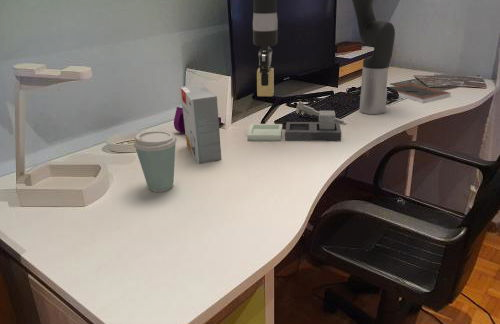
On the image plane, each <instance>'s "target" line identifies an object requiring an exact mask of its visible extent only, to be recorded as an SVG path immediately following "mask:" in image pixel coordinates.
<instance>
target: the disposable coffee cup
mask: <svg viewBox="0 0 500 324" xmlns="http://www.w3.org/2000/svg"><path fill="white" fill-rule="evenodd" d="M176 144H177V137H176V135H174V134H173V133H172V132H170V131H166V130H162V129H161V130H160V129H159V130H158V129H157V130H155V129H154V130H146V131H142V132H139V133H137V134H136V135H135V137H134V141H133V147H134V149H135V151H136V154H137V156H138V157H137V158H138V160H139V164H140V166H141V167H140V168H141V170H142V173H143V175H144V179H145V182H146V185H147V187H148V188H149V190H150V191H151V192H154V193H164V192H166V191H169V190H170V189H172V188H173V185H174V181H175V180H174V179H175V160H176V158H175V157H176Z"/></svg>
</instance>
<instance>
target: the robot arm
mask: <svg viewBox="0 0 500 324" xmlns="http://www.w3.org/2000/svg"><path fill="white" fill-rule="evenodd" d="M351 2H352V6H353V9H354V12H355V17H356V22H357V28H358V33H359V38H360V41H361V42H362V44H363V45H364V46H366V47H370V48H373V52H372V55H370V56H367V57H365V58H364V59H363V60H362V61H363V62H362V72H361V73H362V74H361V86H360V99H359V112H361V113H362V114H366V115H367V114H368V115H379V114H385V113H386V107H387V98H388V93H387V90H388V89H387V87H388V76H389V75H388V74H389V66H390V61H391V59H392V56H393V51H394V44H395V37H396V36H395V35H396V32H395V26H394V25H393V23H392V22H390V21H382V20H377V19H376V16H375V14H374V9H373V2H374V0H352V1H351ZM252 5H253V7H252V8H253V13H252V14H253V16H252V43H253V45H255V46H257V47H258V46H260V49H259V50H258V58H259V59H258V61H259V63H258V66H259V68H260V73H261V85H262V86H268V74H269V68H271V65H272V55H273V49H272V48H271V46H276V45H277V44H278V13H277V12H278V0H253V4H252ZM262 68H266V69H262Z"/></svg>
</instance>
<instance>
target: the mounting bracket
mask: <svg viewBox="0 0 500 324" xmlns="http://www.w3.org/2000/svg"><path fill="white" fill-rule="evenodd" d="M221 118H222V117H219V116H218V119H219V125H220V124H221ZM173 127H174V129H175V130H176V132H179V133H181V134H185V125H184V116H183V107H180V106H176V110H175V114H174V118H173Z"/></svg>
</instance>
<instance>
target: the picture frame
mask: <svg viewBox="0 0 500 324" xmlns="http://www.w3.org/2000/svg"><path fill="white" fill-rule="evenodd" d="M388 87H389V88H393V89H395V90H396V91H397V92H398V94H399V96H398V97H400V96H401V97H400V98H403V97H404V99H406V100H410V101H413V102H417V103H419V104H426V103H429V102H433V101H438V100H442V99H446V98H451V96H452V95H451V94H452V92H450V91H449V92H448V91H445V90H441V89H437V88H432V87H428V86H424V85H420V84H417V83H413V82H409V83H404V84H398V85H393V86H388Z"/></svg>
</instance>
